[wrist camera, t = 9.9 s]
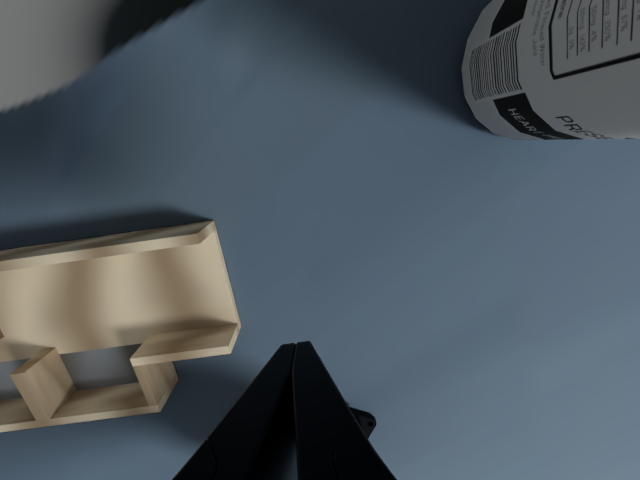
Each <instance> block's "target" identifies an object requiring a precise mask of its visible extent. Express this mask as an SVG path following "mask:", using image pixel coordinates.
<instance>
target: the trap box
mask: <svg viewBox="0 0 640 480" xmlns="http://www.w3.org/2000/svg"><path fill="white" fill-rule="evenodd" d="M240 328H241V323H240V320H239V316H238V312H237V308H236V304H235V300H234V296H233V292H232V289H231V285H230V281H229V277H228V273H227V269H226V265H225V261H224V257H223V254H222V250H221V246H220V242H219V238H218V234H217V230H216V226H215V223H214V220H212V221H205V222H198V223H191V224H184V225H177V226H170V227H163V228H156V229H149V230H141V231H134V232H127V233H120V234H113V235H106V236H99V237H92V238H85V239H78V240H70V241H63V242H56V243H49V244H42V245H35V246H28V247H21V248H14V249H7V250H0V330H1V331H2V333H3V335H4V337H3V338H1V339H0V432H7V431H15V430H22V429H30V428H38V427H46V426H54V425H62V424H69V423H77V422H85V421H93V420H101V419H109V418H116V417H124V416H132V415H140V414H148V413H156V412H161V410H162V408H163V406H164V404H165V403H166V401H167V399H168V397H169V396H170V394H171V392H172V390H173V388H174V387H175V385H176V383H177V381H178V380H179V379H178V376H177V373H176V370H175V368H174V365H173V362H172V361H178V360H185V359H193V358H201V357H208V356H216V355H224V354H231V352H232V349H233V346H234V344H235V341H236V339H237V336H238V334H239V331H240Z"/></svg>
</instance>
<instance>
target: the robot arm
mask: <svg viewBox="0 0 640 480" xmlns="http://www.w3.org/2000/svg"><path fill="white" fill-rule="evenodd" d="M375 426H376V420H375V417H374V416H372V415H369V414H365V413H362V412H359V411H355V410H352V409H349V407H348V405H347V403H346V402H345V400H344V398H343V397H342V395H341V393H340V391H339V390H338V388H337V386H336V385H335V383H334V381H333V379H332V378H331V376H330V374H329V373H328V371H327V369H326V368H325V366H324V364H323V362H322V361H321V359H320V357H319V356H318V354H317V352H316V350H315V349H314V347H313V345H312V344H311V342H310V341H305V342H298V343H297V344H295V343H290V344H283V345H281V346H280V347H279V349H278V350H277V351H276V352H275V354H274V355H273V356H272V357H271V359H270V360H269V361H268V362H267V364H266V365H265V366H264V367H263V369H262V370H261V371H260V372H259V373H258V375H257V376H256V377H255V378H254V380H253V381H252V382H251V383H250V385H249V386H248V387H247V388H246V390H245V391H244V392H243V393H242V395H241V396H240V397H239V398H238V400H237V401H236V402H235V403H234V405H233V406H232V407H231V408H230V410H229V411H228V412H227V413H226V415H225V416H224V417H223V418H222V420H221V421H220V422H219V423H218V425H217V426H216V427H215V428H214V430H213V431H212V432H211V433H210V435H209V436H208V440H207V439H206V440H205V441H204V442H203V443H202V444H201V446H200V447H199V448H198V449H197V451H196V452H195V453H194V454H193V456H192V457H191V458H190V459H189V460H188V462H187V463H186V464H185V465H184V466H183V467H182V469H181V470H180V471H179V472H178V473H177V475H176V476H175V477H174V478H173V479H172V480H397V479H396V478H395V477H394V475H393V474H392V473H391V472H390V470H389V469H388V467H387V466H386V465H385V463H384V462H383V461H382V459H381V458H380V457H379V455H378V454H377V452H376V451H375V450H374V448H373V446H372V445H371V443H370V442H369V440H368V438H369V436H370V434H371V433H372V431H373V429H374V428H375Z"/></svg>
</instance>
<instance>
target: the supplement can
mask: <svg viewBox="0 0 640 480" xmlns="http://www.w3.org/2000/svg"><path fill="white" fill-rule="evenodd" d="M462 78H463V87H464V96H465V98H466V100H467V102H468V104H469V106H470V108H471V110H472V112H473V114H474V116H475V118H476V119H477V120H478V121H479V122H480V123H482V124H483V125H484V126H485V127H486V128H488V129H489V130H490V131H491V132H492V133H494V134H497V135H501V136H504V137H507V138H511V139H514V140H548V139H640V0H492V1H491V2H490V3H489V4H488V5H487V6H486V7H485V8H484V9H483V10H482V12H481V14H480V16H479V18H478V20H477V22H476V24H475V25H474V27H473V29H472V31H471V33H470V35H469V37H468V39H467V44H466V49H465V54H464V59H463V64H462Z"/></svg>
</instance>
